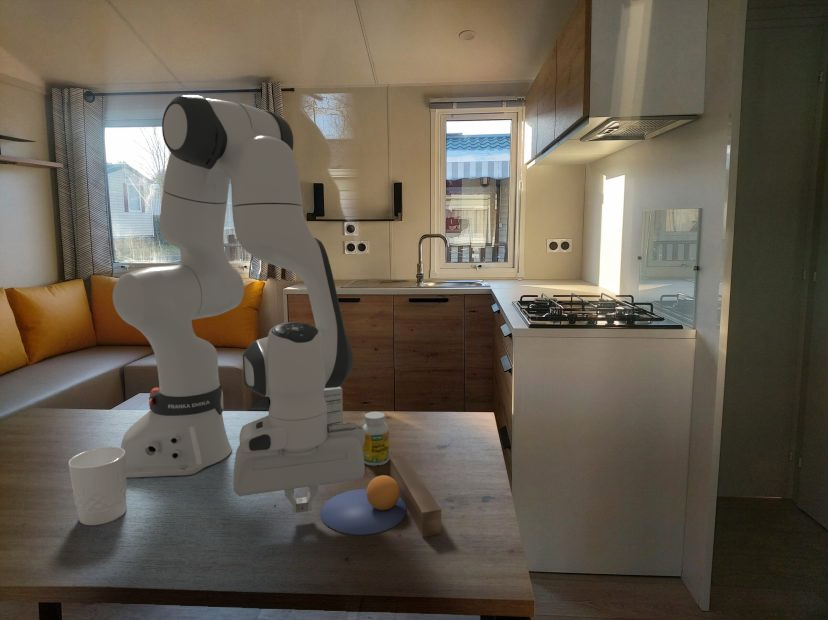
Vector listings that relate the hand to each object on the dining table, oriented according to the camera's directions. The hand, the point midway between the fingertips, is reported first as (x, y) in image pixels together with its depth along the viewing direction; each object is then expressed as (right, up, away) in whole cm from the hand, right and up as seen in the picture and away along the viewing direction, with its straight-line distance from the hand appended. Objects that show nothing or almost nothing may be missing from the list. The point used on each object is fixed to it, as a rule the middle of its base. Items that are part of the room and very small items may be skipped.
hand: (301, 510), depth 85 cm
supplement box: (-2, +3, +32) cm, 32 cm away
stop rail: (+18, -1, +5) cm, 19 cm away
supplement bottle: (+10, +2, +22) cm, 24 cm away
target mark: (+10, -1, +3) cm, 10 cm away
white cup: (-33, -2, +2) cm, 33 cm away
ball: (+13, +2, +3) cm, 13 cm away
